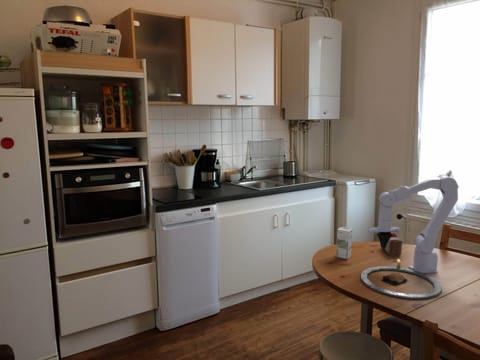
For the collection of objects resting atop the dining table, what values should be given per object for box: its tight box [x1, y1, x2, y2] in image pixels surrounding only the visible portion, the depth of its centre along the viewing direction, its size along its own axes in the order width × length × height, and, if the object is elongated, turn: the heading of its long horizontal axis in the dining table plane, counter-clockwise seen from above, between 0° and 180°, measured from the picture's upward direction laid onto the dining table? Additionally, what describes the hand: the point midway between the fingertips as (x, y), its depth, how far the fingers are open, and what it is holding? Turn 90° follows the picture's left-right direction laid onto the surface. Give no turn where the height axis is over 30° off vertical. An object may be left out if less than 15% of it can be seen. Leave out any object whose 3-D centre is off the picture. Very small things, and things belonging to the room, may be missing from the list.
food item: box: [384, 232, 403, 257], centre depth 202 cm, size 14×8×10 cm, turn 176°
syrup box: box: [336, 226, 353, 260], centre depth 193 cm, size 6×6×14 cm
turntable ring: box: [360, 258, 443, 300], centre depth 167 cm, size 31×36×3 cm
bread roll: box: [380, 272, 409, 287], centre depth 167 cm, size 11×8×4 cm
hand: (383, 247), depth 181 cm, fingers closed
